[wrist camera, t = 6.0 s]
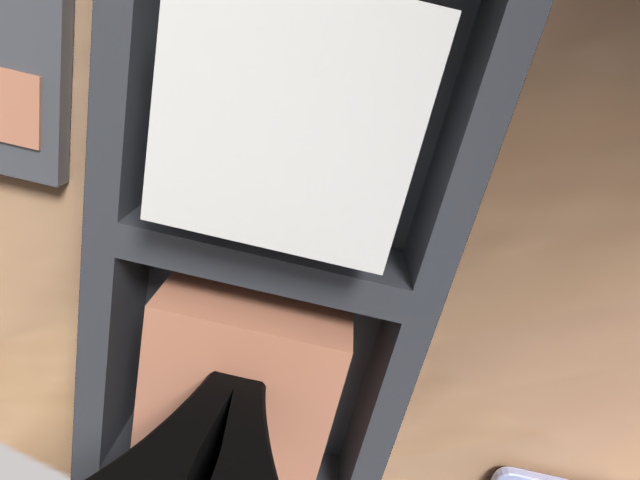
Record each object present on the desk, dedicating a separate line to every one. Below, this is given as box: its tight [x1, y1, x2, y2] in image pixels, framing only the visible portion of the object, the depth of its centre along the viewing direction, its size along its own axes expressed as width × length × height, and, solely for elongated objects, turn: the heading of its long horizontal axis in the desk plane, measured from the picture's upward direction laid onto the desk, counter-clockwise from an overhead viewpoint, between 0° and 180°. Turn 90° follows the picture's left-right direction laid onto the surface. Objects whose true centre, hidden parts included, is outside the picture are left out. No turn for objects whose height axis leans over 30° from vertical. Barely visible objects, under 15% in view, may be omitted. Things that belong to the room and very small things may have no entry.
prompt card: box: [0, 0, 75, 188], centre depth 13 cm, size 3×8×1 cm, turn 167°
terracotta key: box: [130, 271, 354, 480], centre depth 14 cm, size 5×5×3 cm
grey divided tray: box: [71, 0, 554, 480], centre depth 12 cm, size 9×24×4 cm, turn 167°
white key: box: [140, 0, 462, 275], centre depth 11 cm, size 5×5×3 cm
